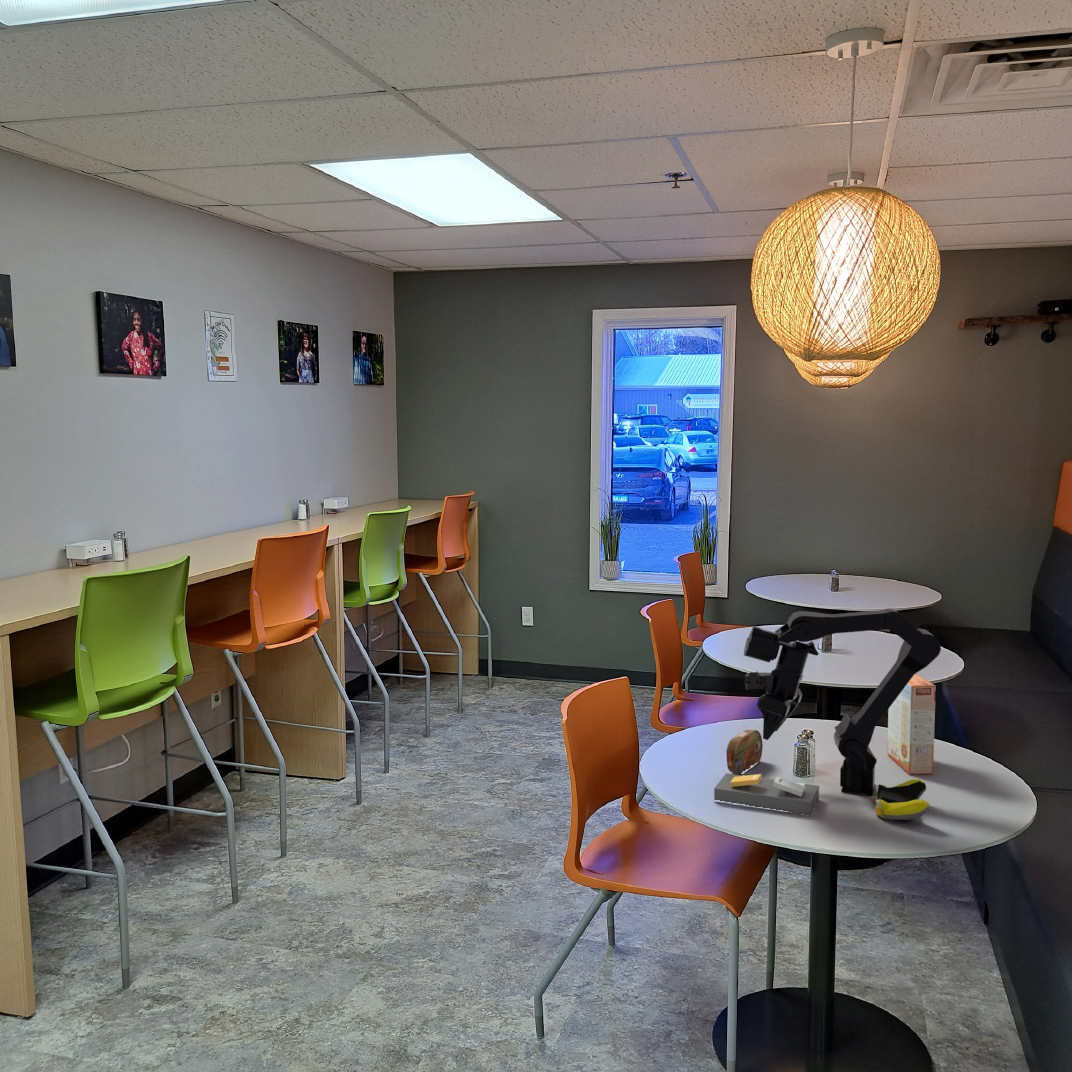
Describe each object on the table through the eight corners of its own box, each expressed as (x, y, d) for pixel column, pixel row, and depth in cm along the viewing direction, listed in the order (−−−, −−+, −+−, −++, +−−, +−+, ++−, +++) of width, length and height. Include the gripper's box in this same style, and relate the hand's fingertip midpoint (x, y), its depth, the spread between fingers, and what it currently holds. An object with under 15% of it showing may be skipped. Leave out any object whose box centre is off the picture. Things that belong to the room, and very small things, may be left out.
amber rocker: (762, 778, 199) (761, 773, 199) (758, 784, 196) (757, 779, 196) (735, 781, 202) (734, 776, 202) (731, 786, 199) (729, 782, 199)
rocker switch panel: (818, 799, 199) (818, 783, 199) (810, 816, 190) (810, 799, 190) (726, 786, 208) (726, 771, 207) (714, 802, 199) (714, 786, 198)
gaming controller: (925, 802, 196) (874, 797, 200) (925, 777, 196) (875, 772, 199) (929, 830, 182) (875, 825, 186) (930, 803, 182) (875, 798, 185)
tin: (736, 779, 212) (736, 743, 211) (723, 776, 214) (723, 741, 213) (763, 760, 224) (763, 726, 223) (751, 758, 226) (751, 724, 225)
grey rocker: (804, 790, 195) (805, 786, 195) (801, 796, 192) (802, 792, 192) (776, 780, 198) (777, 775, 198) (772, 786, 195) (774, 781, 194)
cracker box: (935, 775, 212) (937, 684, 210) (908, 775, 212) (910, 685, 210) (911, 754, 226) (913, 670, 224) (886, 755, 226) (887, 670, 224)
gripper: (763, 650, 215) (744, 714, 218) (744, 661, 199) (724, 730, 201) (810, 666, 211) (791, 731, 213) (795, 679, 194) (774, 749, 196)
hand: (769, 734), depth 206 cm, fingers open, 9 cm apart
